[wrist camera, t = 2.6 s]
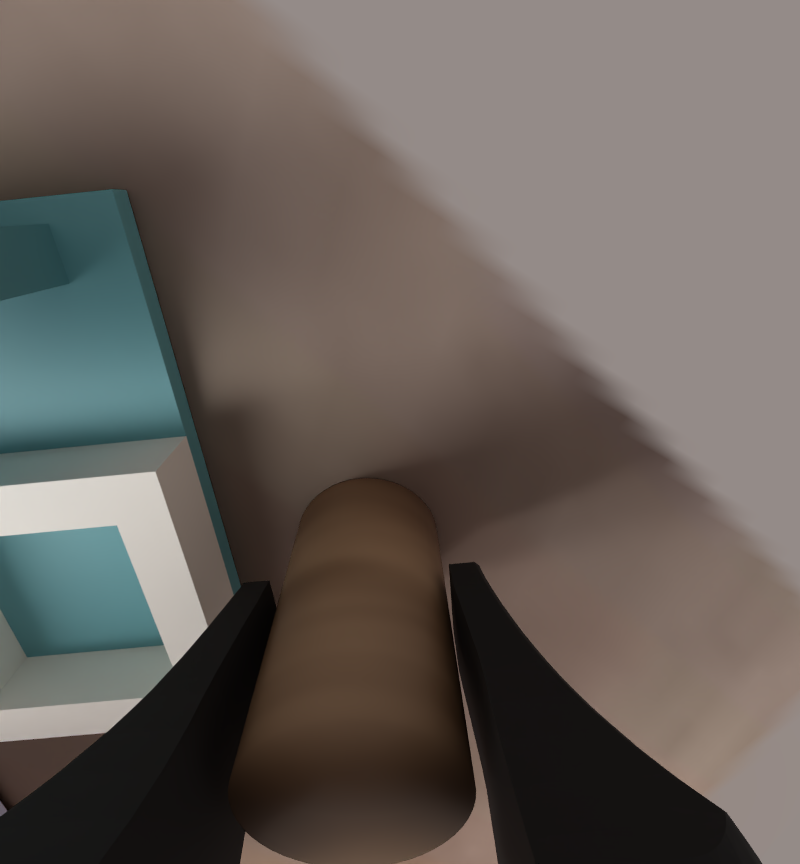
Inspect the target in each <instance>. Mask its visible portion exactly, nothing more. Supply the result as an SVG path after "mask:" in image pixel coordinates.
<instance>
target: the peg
mask: <svg viewBox="0 0 800 864" xmlns="http://www.w3.org/2000/svg"><path fill="white" fill-rule="evenodd" d="M228 800H229V804H230V808H231V811H232V813H233V815H234V817H235V819H236V820H237V821H238V823H239V824H240V826H241V827H242V828H243V829H244V830H245V831H246V832H247V833H248V834H249V835H250V836H251V837H252V838H254V839H255V840H256V841H258V842H259V843H260V844H262V845H264V846H265V847H267V848H269V849H270V850H272V851H275V852H277V853H279V854H281V855H283V856H286V857H289V858H292V859H295V860H298V861H302V862H306V863H309V864H394V863H398V862H402V861H406V860H409V859H412V858H415V857H417V856H420V855H423V854H425V853H427V852H429V851H431V850H433V849H435V848H437V847H438V846H440V845H442V844H443V843H445V842H446V841H447V840H449V839H450V838H451V837H453V836H454V835H455V834H456V833H457V832H458V831H459V830H460V829H461V828H462V827H463V825H464V824H465V823H466V821H467V820H468V818H469V816H470V814H471V812H472V810H473V807H474V803H475V800H476V786H475V780H474V773H473V766H472V760H471V753H470V747H469V740H468V733H467V727H466V720H465V714H464V707H463V700H462V694H461V687H460V681H459V674H458V667H457V661H456V654H455V648H454V641H453V634H452V628H451V621H450V615H449V608H448V601H447V595H446V588H445V582H444V575H443V568H442V562H441V555H440V548H439V542H438V535H437V529H436V524H435V521H434V517H433V515H432V514H431V512H430V510H429V508H428V507H427V506H426V504H425V503H424V502H423V501H422V500H421V499H420V498H419V497H418V496H417V495H416V494H414V493H413V492H412V491H410V490H408V489H407V488H405V487H403V486H401V485H399V484H396V483H393V482H390V481H386V480H381V479H373V478H361V479H353V480H348V481H344V482H341V483H338V484H336V485H333V486H331V487H330V488H328V489H326V490H324V491H323V492H322V493H320V494H319V495H318V496H317V497H316V498H315V499H314V500H313V501H312V502H311V503H310V504H309V505H308V507H307V508H306V510H305V512H304V514H303V516H302V518H301V521H300V524H299V528H298V532H297V535H296V539H295V543H294V546H293V550H292V554H291V557H290V561H289V565H288V568H287V572H286V576H285V579H284V583H283V587H282V590H281V594H280V597H279V601H278V605H277V608H276V612H275V616H274V619H273V623H272V627H271V630H270V634H269V638H268V641H267V645H266V649H265V652H264V656H263V660H262V663H261V667H260V670H259V674H258V678H257V681H256V685H255V689H254V692H253V696H252V700H251V703H250V707H249V711H248V714H247V718H246V722H245V725H244V729H243V733H242V736H241V740H240V744H239V747H238V751H237V754H236V758H235V762H234V765H233V769H232V773H231V776H230V780H229V786H228Z"/></svg>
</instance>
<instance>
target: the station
mask: <svg viewBox="0 0 800 864" xmlns="http://www.w3.org/2000/svg"><path fill="white" fill-rule="evenodd" d="M240 587H241V585H240V581H239V578H238V575H237V571H236V568H235V564H234V561H233V557H232V554H231V550H230V547H229V543H228V540H227V536H226V533H225V530H224V526H223V523H222V519H221V516H220V512H219V509H218V505H217V502H216V498H215V495H214V491H213V488H212V485H211V481H210V478H209V474H208V471H207V467H206V464H205V460H204V457H203V453H202V450H201V447H200V443H199V440H198V436H197V433H196V429H195V426H194V422H193V419H192V415H191V412H190V408H189V405H188V402H187V398H186V395H185V391H184V388H183V384H182V381H181V377H180V374H179V370H178V367H177V363H176V360H175V357H174V353H173V350H172V346H171V343H170V339H169V336H168V332H167V329H166V325H165V322H164V319H163V315H162V312H161V308H160V305H159V301H158V298H157V294H156V291H155V287H154V284H153V280H152V277H151V274H150V270H149V267H148V263H147V260H146V256H145V253H144V249H143V246H142V242H141V239H140V235H139V232H138V229H137V225H136V222H135V218H134V215H133V211H132V208H131V204H130V201H129V197H128V194H127V191H126V190H119V189H109V190H100V191H90V192H81V193H71V194H62V195H52V196H43V197H33V198H24V199H14V200H5V201H0V742H5V741H17V740H29V739H41V738H52V737H64V736H76V735H87V734H99V733H106V732H108V731H109V730H110V729H111V728H112V727H113V726H114V725H115V724H116V723H117V722H118V721H120V720H121V719H122V718H123V717H124V716H125V715H126V714H127V713H128V712H129V711H130V710H131V709H133V708H134V707H135V706H136V705H137V704H138V703H139V702H140V701H141V700H142V699H143V698H144V697H145V696H146V695H147V694H148V693H149V692H150V691H151V690H152V689H153V688H154V687H155V686H156V685H157V684H158V682H159V681H160V680H161V679H162V678H163V677H164V676H165V675H166V674H167V673H168V672H169V671H170V670H171V668H172V667H173V666H174V665H175V664H176V663H177V662H178V661H179V660H180V659H181V658H182V656H183V655H184V654H185V653H186V652H187V651H188V650H189V648H190V647H191V646H192V645H193V644H194V643H195V641H196V640H197V639H198V638H199V637H200V636H201V634H202V633H203V632H204V631H205V630H206V629H207V627H208V626H209V625H210V624H211V623H212V621H213V620H214V619H215V618H216V617H217V615H218V614H219V613H220V612H221V610H222V609H223V608H224V607H225V606H226V604H227V603H228V602H229V601H230V599H231V598H232V597H233V596H234V595H235V593H236V592H237V591H238V590H239V589H240Z"/></svg>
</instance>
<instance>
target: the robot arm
mask: <svg viewBox="0 0 800 864" xmlns="http://www.w3.org/2000/svg"><path fill="white" fill-rule="evenodd" d="M449 571H450V586H451V600H452V615H453V629H454V637H455V644H456V651H457V659H458V666H459V672H460V676H461V681H462V685H463V689H464V693H465V697H466V702H467V706H468V710H469V714H470V718H471V723H472V727H473V731H474V735H475V739H476V743H477V748H478V752H479V756H480V760H481V764H482V769H483V774H484V779H485V784H486V789H487V795H488V801H489V807H490V814H491V820H492V827H493V833H494V840H495V846H496V853H497V860H498V864H762V863H761V861H760V859H759V858H758V856H757V855H756V854H755V852H754V851H753V849H752V848H751V846H750V845H749V843H748V842H747V841H746V839H745V838H744V836H743V835H742V833H741V832H740V831H739V829H738V828H737V826H736V825H735V824H734V822H733V821H732V819H731V818H730V817H729V815H728V814H727V813H726V812H725V811H724V810H722V809H721V808H719V807H718V806H716V805H715V804H714V803H712V802H711V801H709V800H708V799H706V798H705V797H704V796H702V795H701V794H699V793H698V792H696V791H695V790H694V789H692V788H691V787H689V786H688V785H686V784H685V783H684V782H682V781H681V780H680V779H678V778H677V777H675V776H674V775H673V774H671V773H670V772H669V771H667V770H666V769H665V768H664V767H662V766H661V765H660V764H658V763H657V762H656V761H655V760H653V759H652V758H651V757H649V756H648V755H647V754H646V753H644V752H643V751H642V750H641V749H639V748H638V747H637V746H636V745H635V744H633V743H632V742H631V741H630V740H629V739H628V738H626V737H625V736H624V735H623V734H622V733H621V732H619V731H618V730H617V729H616V728H615V727H614V726H613V725H611V724H610V723H609V722H608V721H607V720H606V719H604V718H603V717H602V716H601V715H600V714H599V713H597V712H596V711H595V710H594V709H593V708H592V707H591V706H590V705H589V704H588V703H587V702H586V701H585V700H584V699H583V698H582V697H581V696H580V695H579V694H578V693H577V692H576V691H575V690H574V689H573V688H572V687H571V686H570V685H569V684H568V683H567V682H566V681H565V680H564V679H563V678H562V677H561V676H560V675H559V674H558V673H557V672H556V671H555V670H554V669H553V667H552V666H551V665H550V664H549V663H548V662H547V661H546V660H545V658H544V657H543V656H542V655H541V654H540V653H539V651H538V650H537V649H536V648H535V647H534V645H533V644H532V643H531V642H530V641H529V639H528V638H527V637H526V636H525V634H524V633H523V632H522V631H521V629H520V628H519V627H518V625H517V624H516V623H515V621H514V620H513V619H512V617H511V616H510V614H509V613H508V612H507V610H506V609H505V608H504V606H503V605H502V603H501V602H500V600H499V599H498V597H497V596H496V594H495V593H494V591H493V590H492V588H491V586H490V585H489V583H488V581H487V580H486V578H485V576H484V574H483V572H482V570H481V568H480V566H479V565H478V564H476V563H475V562H470V563H459V564H449ZM275 612H276V604H275V600H274V597H273V593H272V589H271V585H270V581H260V582H249V583H244V584H243V585H242V586H241V587H240V589H239V590H238V591H237V592H236V593H235V595H234V596H233V597H232V598H231V599H230V601H229V602H228V603H227V604H226V606H225V607H224V608H223V609H222V610H221V612H220V613H219V614H218V615H217V617H216V618H215V619H214V620H213V621H212V623H211V624H210V625H209V626H208V627H207V629H206V630H205V631H204V632H203V633H202V634H201V636H200V637H199V638H198V639H197V640H196V641H195V643H194V644H193V645H192V646H191V647H190V648H189V650H188V651H187V652H186V653H185V654H184V655H183V656H182V658H181V659H180V660H179V661H178V662H177V663H176V664H175V665H174V666H173V667H172V668H171V670H170V671H169V672H168V673H167V674H166V675H165V676H164V677H163V678H162V679H161V680H160V681H159V682H158V684H157V685H156V686H155V687H154V688H153V689H152V690H151V691H150V692H149V693H148V694H147V695H146V696H145V697H144V698H143V699H142V700H141V701H140V702H139V703H138V704H137V705H136V706H135V707H134V708H133V709H131V710H130V711H129V712H128V713H127V714H126V715H125V716H124V717H123V718H122V719H121V720H120V721H118V722H117V723H116V724H115V725H114V726H113V727H112V728H111V729H110V730H109V731H108V732H106V733H105V734H104V735H103V736H102V737H101V738H99V739H98V740H97V741H96V742H95V743H93V744H92V745H91V746H90V747H89V748H87V749H86V750H85V751H84V752H83V753H81V754H80V755H79V756H78V757H77V758H75V759H74V760H73V761H72V762H71V763H69V764H68V765H67V766H66V767H65V768H63V769H62V770H61V771H60V772H59V773H57V774H56V775H55V776H54V777H52V778H51V779H50V780H48V781H47V782H46V783H44V784H43V785H42V786H41V787H39V788H38V789H37V790H35V791H34V792H33V793H31V794H30V795H29V796H27V797H26V798H25V799H23V800H22V801H21V802H19V803H18V804H16V805H15V806H14V807H12V808H11V809H10V810H8V811H7V810H6V808H5V807H4V805H3V804H2V802H1V801H0V864H240V859H241V853H242V847H243V841H244V835H245V830H244V829H243V828H242V827H241V826H240V824H239V823H238V821H237V820H236V819H235V817H234V815H233V813H232V811H231V808H230V804H229V800H228V786H229V780H230V776H231V773H232V769H233V765H234V762H235V758H236V754H237V751H238V747H239V744H240V740H241V736H242V733H243V729H244V725H245V722H246V718H247V714H248V711H249V707H250V703H251V700H252V696H253V692H254V689H255V685H256V681H257V678H258V674H259V670H260V667H261V663H262V660H263V656H264V652H265V649H266V645H267V641H268V638H269V634H270V630H271V627H272V623H273V619H274V616H275Z"/></svg>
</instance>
